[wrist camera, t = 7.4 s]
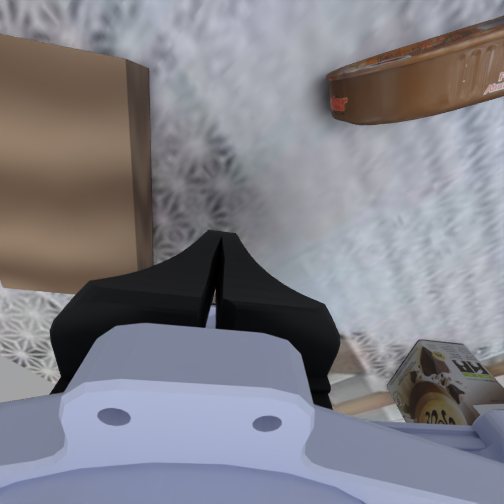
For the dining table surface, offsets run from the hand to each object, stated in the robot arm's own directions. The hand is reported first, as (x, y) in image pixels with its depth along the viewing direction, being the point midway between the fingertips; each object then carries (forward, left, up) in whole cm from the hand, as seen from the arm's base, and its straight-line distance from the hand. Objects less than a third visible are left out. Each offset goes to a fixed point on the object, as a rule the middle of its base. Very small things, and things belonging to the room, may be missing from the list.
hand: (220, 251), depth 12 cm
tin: (+10, -12, -11) cm, 19 cm away
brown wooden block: (-1, +11, -10) cm, 15 cm away
